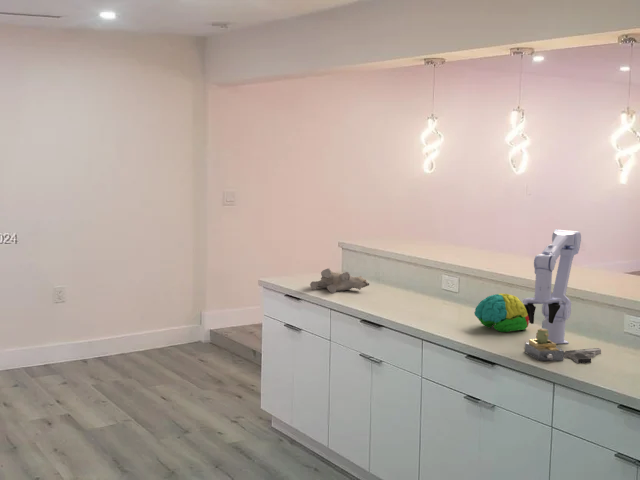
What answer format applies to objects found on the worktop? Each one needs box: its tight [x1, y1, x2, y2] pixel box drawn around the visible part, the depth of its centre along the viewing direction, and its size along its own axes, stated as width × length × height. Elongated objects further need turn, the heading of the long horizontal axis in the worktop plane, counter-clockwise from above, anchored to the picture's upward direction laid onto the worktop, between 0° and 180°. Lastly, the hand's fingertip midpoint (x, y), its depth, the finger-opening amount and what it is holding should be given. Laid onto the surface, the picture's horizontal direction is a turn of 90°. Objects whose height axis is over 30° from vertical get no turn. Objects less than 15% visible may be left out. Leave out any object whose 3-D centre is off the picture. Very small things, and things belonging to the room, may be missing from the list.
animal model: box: [309, 267, 370, 294], centre depth 386 cm, size 14×28×17 cm
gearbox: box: [524, 338, 565, 362], centre depth 268 cm, size 14×9×5 cm, turn 9°
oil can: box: [536, 328, 549, 344], centre depth 269 cm, size 5×4×6 cm
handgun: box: [563, 347, 602, 364], centre depth 269 cm, size 18×2×12 cm
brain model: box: [474, 293, 529, 333], centre depth 309 cm, size 24×19×15 cm
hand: (541, 323), depth 275 cm, fingers open, 7 cm apart
